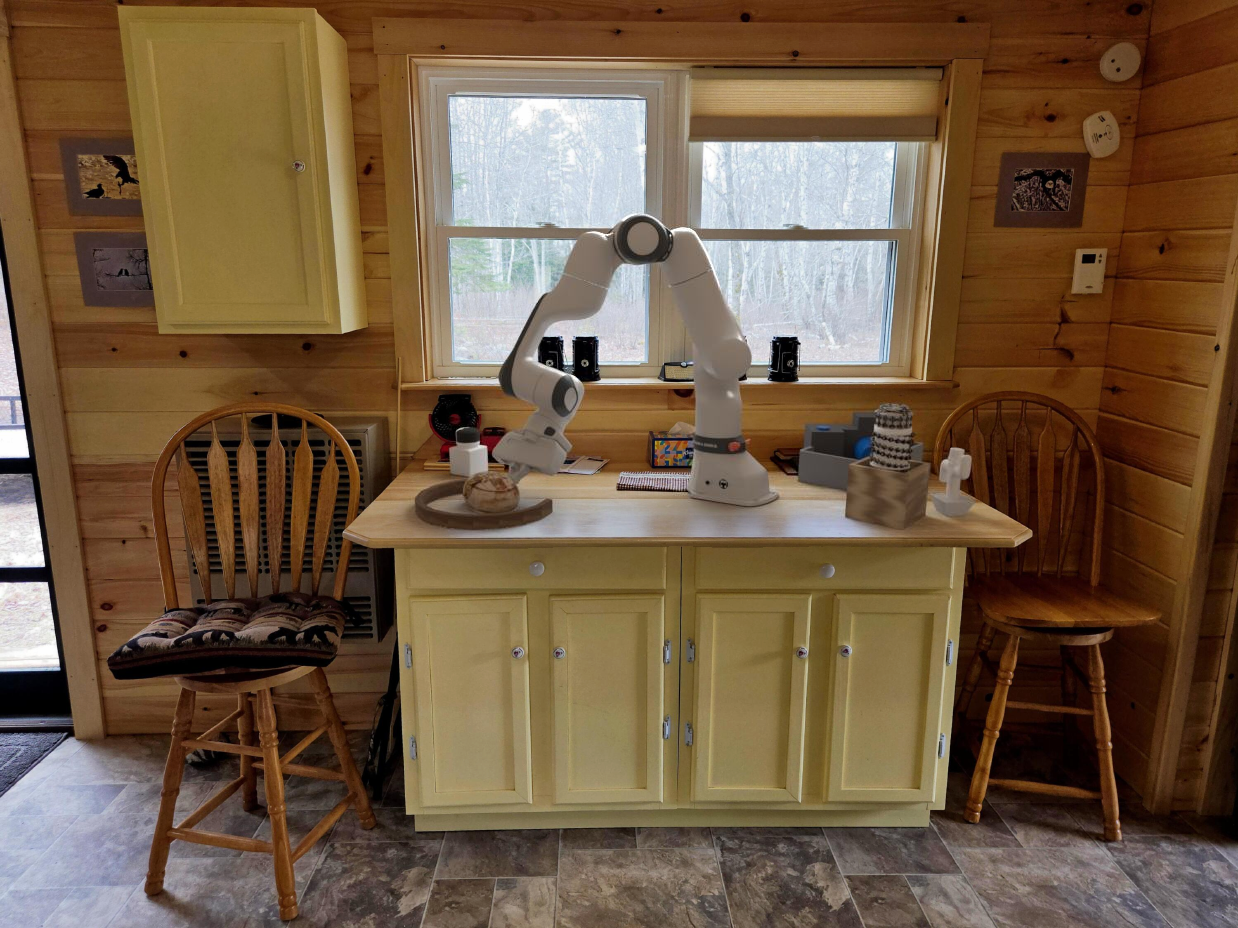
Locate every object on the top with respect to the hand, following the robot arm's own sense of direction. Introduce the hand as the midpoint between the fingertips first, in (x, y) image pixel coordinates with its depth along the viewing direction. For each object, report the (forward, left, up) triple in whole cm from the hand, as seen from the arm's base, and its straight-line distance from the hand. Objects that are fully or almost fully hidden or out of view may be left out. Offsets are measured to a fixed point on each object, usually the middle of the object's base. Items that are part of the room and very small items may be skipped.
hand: (511, 481), depth 192 cm
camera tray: (-52, -75, -4) cm, 92 cm away
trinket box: (-1, +7, -5) cm, 8 cm away
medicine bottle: (+27, -9, -5) cm, 29 cm away
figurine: (-81, -59, -5) cm, 100 cm away
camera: (-50, -76, -5) cm, 91 cm away
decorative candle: (-71, -47, -5) cm, 85 cm away
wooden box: (-71, -47, -4) cm, 85 cm away
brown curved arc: (0, +12, -4) cm, 13 cm away
